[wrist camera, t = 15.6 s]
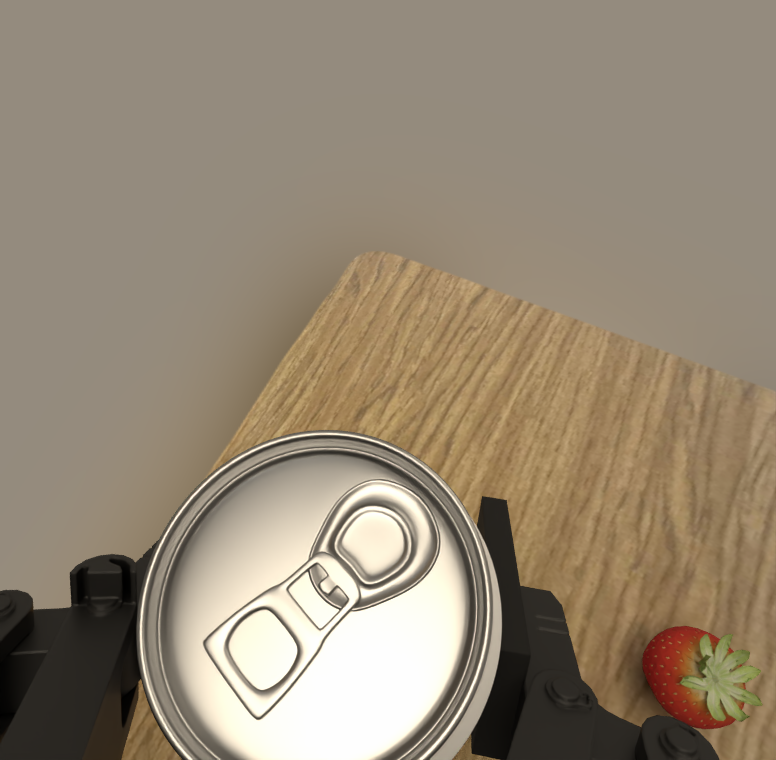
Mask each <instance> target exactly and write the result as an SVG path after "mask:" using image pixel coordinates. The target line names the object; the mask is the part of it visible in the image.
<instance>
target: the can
mask: <svg viewBox="0 0 776 760" xmlns="http://www.w3.org/2000/svg"><path fill="white" fill-rule="evenodd" d="M501 635H502V612H501V600H500V593H499V587H498V581H497V577H496V573H495V569H494V566H493V563H492V560H491V557H490V554H489V551H488V549H487V546H486V544H485V542H484V540H483V538H482V536H481V534H480V532H479V530H478V528H477V526H476V525H475V523H474V521H473V520H472V518H471V517H470V515H469V514H468V512H467V510H466V509H465V507H464V505H463V504H462V502H461V501H460V499H459V498H458V497H457V495H456V494H455V493H454V491H453V490H452V489H451V488H450V487H449V485H448V484H447V483H446V482H445V481H444V480H443V479H442V478H441V477H440V476H439V475H438V474H437V473H436V472H435V471H434V470H432V469H431V468H430V467H429V466H428V465H426V464H425V463H424V462H422V461H421V460H420V459H418V458H417V457H415V456H414V455H412V454H411V453H409V452H407V451H405V450H404V449H402V448H400V447H398V446H396V445H394V444H391V443H389V442H387V441H384V440H381V439H378V438H375V437H372V436H368V435H364V434H360V433H355V432H348V431H338V430H316V431H305V432H299V433H293V434H289V435H285V436H281V437H277V438H274V439H271V440H268V441H266V442H263V443H261V444H258V445H256V446H254V447H252V448H250V449H248V450H246V451H244V452H242V453H240V454H238V455H237V456H235V457H233V458H232V459H230V460H229V461H227V462H226V463H224V464H223V465H221V466H220V467H219V468H218V469H216V470H215V471H214V472H212V473H211V474H210V475H209V476H208V477H207V478H206V479H204V480H203V481H202V482H201V483H200V484H199V485H198V486H197V487H196V488H195V489H194V490H193V491H192V492H191V494H190V495H189V496H188V497H187V498H186V499H185V501H184V502H183V503H182V505H181V506H180V507H179V508H178V510H177V511H176V512H175V514H174V515H173V517H172V518H171V520H170V521H169V523H168V525H167V526H166V528H165V530H164V531H163V533H162V535H161V537H160V539H159V541H158V543H157V545H156V547H155V549H154V551H153V554H152V556H151V559H150V561H149V564H148V567H147V570H146V573H145V577H144V580H143V584H142V588H141V593H140V598H139V604H138V612H137V625H136V644H137V656H138V664H139V670H140V675H141V680H142V684H143V688H144V691H145V694H146V697H147V700H148V703H149V706H150V708H151V711H152V713H153V715H154V717H155V719H156V721H157V723H158V725H159V727H160V729H161V731H162V732H163V734H164V736H165V737H166V739H167V740H168V742H169V743H170V745H171V746H172V747H173V749H174V750H175V751H176V752H177V754H178V755H179V756H180V757H181V758H182V759H183V760H452V759H453V758H454V757H455V755H456V754H457V753H458V751H459V750H460V749H461V747H462V746H463V745H464V743H465V742H466V740H467V739H468V737H469V736H470V734H471V732H472V731H473V729H474V727H475V725H476V724H477V722H478V720H479V718H480V716H481V714H482V712H483V709H484V707H485V705H486V702H487V700H488V697H489V694H490V691H491V688H492V685H493V682H494V678H495V675H496V670H497V666H498V660H499V655H500V647H501Z"/></svg>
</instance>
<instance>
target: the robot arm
mask: <svg viewBox="0 0 776 760" xmlns="http://www.w3.org/2000/svg"><path fill="white" fill-rule="evenodd" d="M477 528H478V530H479V532H480V534H481V536H482V538H483V540H484V542H485V544H486V546H487V549H488V551H489V554H490V557H491V560H492V563H493V566H494V569H495V573H496V577H497V581H498V587H499V593H500V600H501V612H502V635H501V647H500V655H499V660H498V666H497V670H496V675H495V678H494V682H493V685H492V688H491V691H490V694H489V697H488V700H487V702H486V705H485V707H484V709H483V712H482V714H481V716H480V718H479V720H478V722H477V724H476V725H475V727H474V729H473V731H472V732H471V744H472V754H476V755H481V756H486V757H491V758H495V759H500V760H719V757H718V755H717V754H716V752H715V750H714V749H713V747H712V745H711V744H710V743H709V742H708V741H707V740H706V739H705V738H704V737H703V736H702V735H701V734H700V733H699V732H698V731H697V730H695V729H694V728H692V727H691V726H689V725H688V724H686V723H685V722H682V721H680V720H677V719H675V718H672V717H668V716H660V715H656V716H653V717H650V718H647V719H646V721H645V722H644V723H643V725H642V727H639V726H637V725H634V724H632V723H630V722H628V721H626V720H623V719H621V718H619V717H617V716H615V715H613V714H612V713H610V712H608V711H607V710H605V709H604V708H603V707H601V706H600V705H599V704H598V701H597V698H596V696H595V694H594V693H593V691H592V689H591V688H590V687H589V686H588V685H587V684H586V683H585V682H584V681H583V680H582V679H581V676H580V672H579V669H578V665H577V661H576V657H575V653H574V650H573V646H572V642H571V638H570V636H569V631H568V627H567V623H566V619H565V615H564V612H563V608H562V605H561V604H560V603H559V601H558V600H557V599H556V598H555V596H554V595H553V594H552V593H551V591H546V590H540V589H535V588H529V587H524V586H520V582H519V576H518V569H517V563H516V557H515V550H514V544H513V538H512V532H511V525H510V519H509V513H508V506H507V500H502V499H496V498H490V497H484V496H482V500H481V506H480V512H479V517H478V523H477ZM158 541H159V540H158ZM158 541H157V542H156V543H155V544H154V545H153V546H152V548H150V549H149V550H148V551H147V552H146V553H145V554H144V555H143V557H142V558H140V559H139V560H138V561H137V562H136V563H135V562H134V561H133V559H131V558H129V557H126V556H124V555H115V554H110V555H101V556H97V557H94V558H91V559H88V560H85V561H84V562H82V563H80V564H78V565H77V566H76V567H75V568H74V569H73V570H72V571H71V572H70V586H71V603H72V604H71V605H72V606H71V607H70V608H59V609H38V610H33V599H32V597H31V596H30V595H29V594H28V593H26V592H22V591H18V590H3V591H0V760H121V758H122V754H123V751H124V747H125V744H126V740H127V737H128V733H129V730H130V726H131V722H132V719H133V715H134V712H135V708H136V705H137V701H138V690H139V688H138V682H139V680H140V679H141V675H140V670H139V664H138V656H137V644H136V625H137V612H138V604H139V598H140V593H141V588H142V584H143V580H144V577H145V573H146V570H147V567H148V564H149V561H150V559H151V556H152V554H153V551H154V549H155V547H156V545H157V543H158Z"/></svg>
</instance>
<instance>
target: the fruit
mask: <svg viewBox="0 0 776 760" xmlns="http://www.w3.org/2000/svg"><path fill="white" fill-rule="evenodd" d="M732 636H733V635H732V634H728V635H725V636H723V637H722V638H721V639H719V638H717V637H715V636H714V635H712V634H710V633H708V632H706V631H703V630H700V629H698V628H693V627H688V626H681V627H673V628H669V629H666V630H664V631H663V632H661V633H659V634H658V635H657V636H655V637H654V638H653V639H652V640H651V641H650V643H649V644H648V646H647V648H646V649H645V651H644V653H643V658H642V662H643V671H644V673H645V676H646V678H647V681H648V684H649V685H650V687H651V689H652V691H653V693H654V695H655V697H656V699H657V700H658V702H659V703H660V704H661V705H662V707H663V708H664V709H665V710H666V711H667V712H668V713H669V714H671V715H672V716H673V717H675V718H676V719H678V720H680V721H682V722H685V723H686V724H688V725H689V726H692V727H695V728H701V729H714V728H721V727H724V726H727V725H730V724H732V723H733V722H734V721H735V720H738V721H741V722H742V721H743V720H745V719H746V718H748V717H750V716H748V715H746V714H745V713H744V712H743V711H742V709H743V706H744V703H748V704H751V705H755V706H762V703H761V700H760V699H759V698H758V697H757V696H756V695H754V694H752V693H750V692H749V691H747V690H746V688H745V682H748V681H750V680H752V679H753V678H755V677H756V676H758V675H759V673H760V672H761V670H759V669H757V668H755V667H753V666H742V665H741V664H743V663H744V662H746V661H747V660H748V659H749V655H750V652H749V651H746V650H737V651H735V652H733V650H732V649H731V648H729V645H730V642H731V639H732Z"/></svg>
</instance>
